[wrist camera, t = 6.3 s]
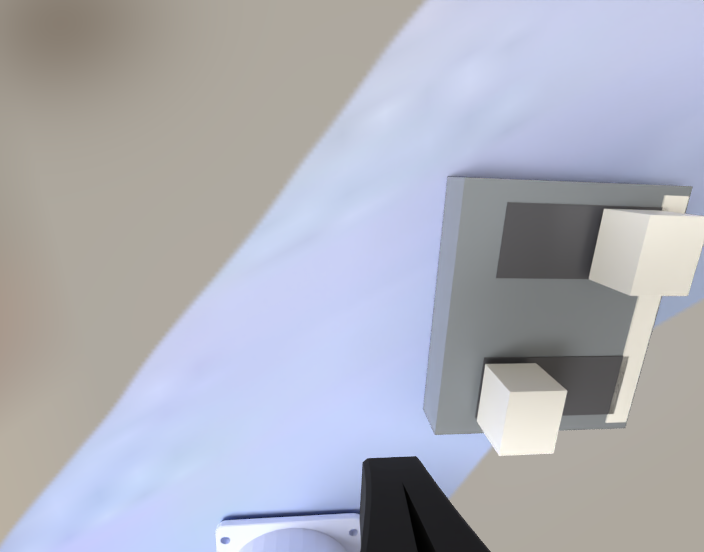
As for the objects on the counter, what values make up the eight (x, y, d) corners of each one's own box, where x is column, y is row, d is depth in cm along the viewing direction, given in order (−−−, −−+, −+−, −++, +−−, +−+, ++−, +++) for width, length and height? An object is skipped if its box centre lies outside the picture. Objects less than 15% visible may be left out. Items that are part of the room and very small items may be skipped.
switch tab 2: (639, 279, 16) (687, 296, 14) (588, 279, 16) (630, 295, 14) (657, 210, 15) (711, 216, 13) (603, 208, 15) (650, 214, 13)
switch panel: (596, 404, 21) (627, 430, 19) (423, 409, 20) (435, 437, 18) (651, 184, 18) (696, 186, 16) (447, 176, 17) (466, 177, 15)
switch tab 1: (525, 419, 18) (553, 453, 16) (476, 421, 18) (498, 455, 15) (536, 363, 17) (567, 390, 15) (485, 363, 17) (510, 391, 15)
